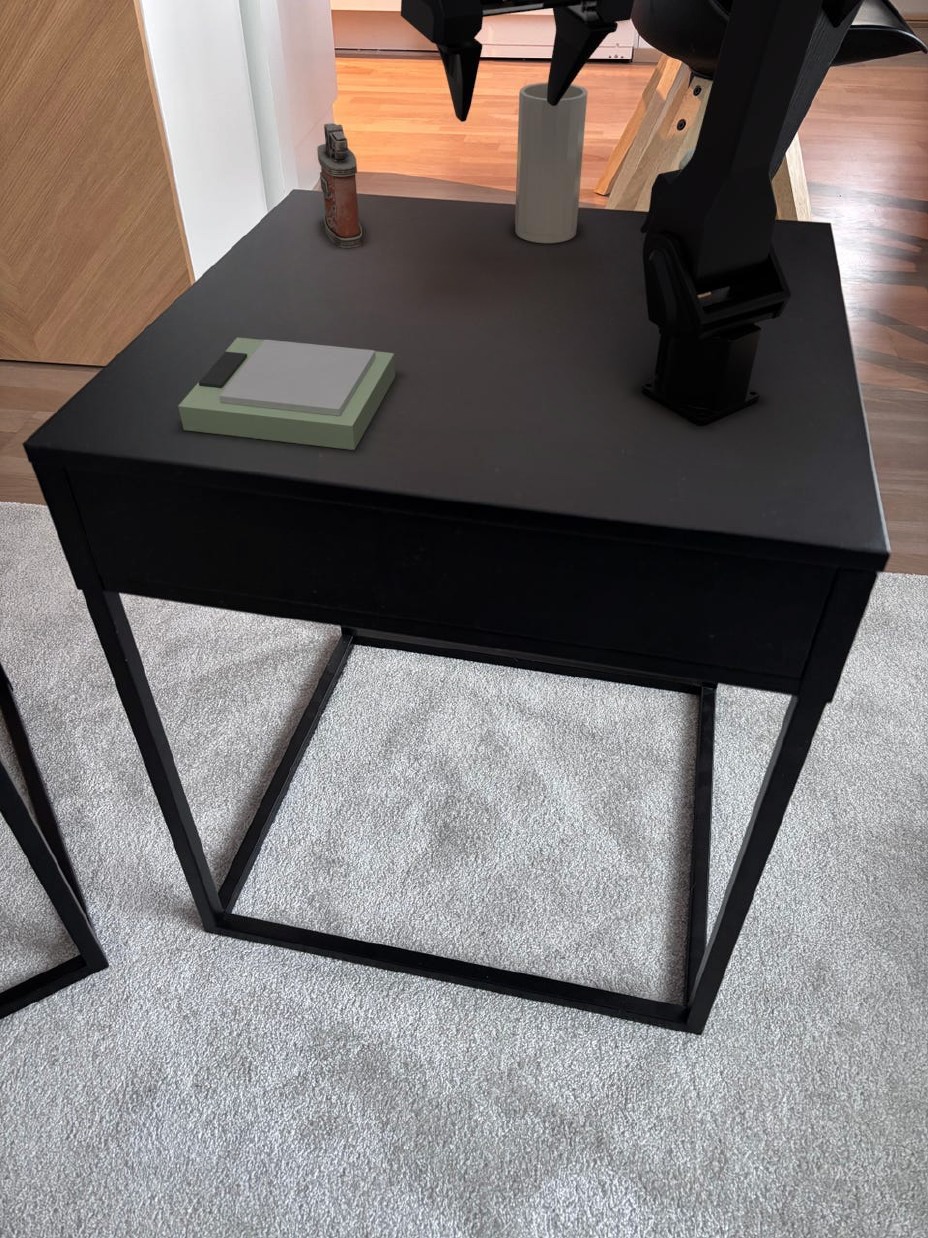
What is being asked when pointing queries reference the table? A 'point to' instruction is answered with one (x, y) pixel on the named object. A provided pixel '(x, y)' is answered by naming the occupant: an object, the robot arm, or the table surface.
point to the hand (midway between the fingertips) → (507, 111)
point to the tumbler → (549, 163)
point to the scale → (290, 393)
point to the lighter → (339, 188)
